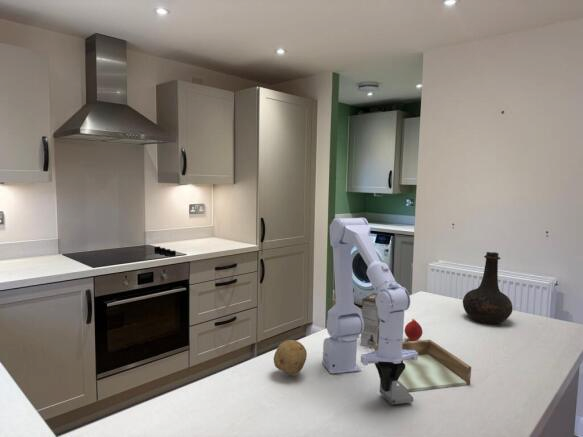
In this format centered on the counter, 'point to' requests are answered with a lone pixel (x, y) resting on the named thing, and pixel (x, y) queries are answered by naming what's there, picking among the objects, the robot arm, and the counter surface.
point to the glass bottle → (488, 296)
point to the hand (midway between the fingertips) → (387, 389)
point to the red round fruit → (413, 330)
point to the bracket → (396, 393)
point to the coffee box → (370, 321)
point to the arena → (432, 368)
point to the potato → (290, 357)
